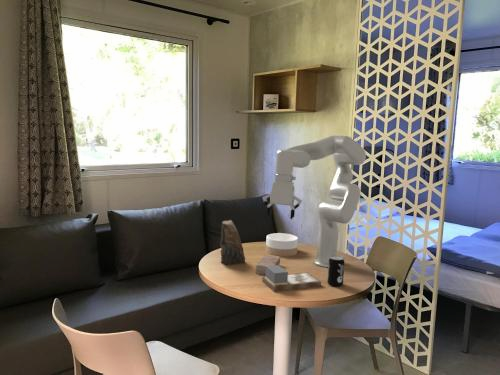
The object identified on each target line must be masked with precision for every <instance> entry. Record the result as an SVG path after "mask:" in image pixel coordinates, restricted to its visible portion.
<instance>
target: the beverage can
mask: <svg viewBox="0 0 500 375" xmlns="http://www.w3.org/2000/svg"><path fill="white" fill-rule="evenodd" d="M341 256H342V255H340V256H330V259H329V265H328V267H327V283H328V285H329V286H330V287H336V288H337V287H342V286H343V285H344V276H345V274H344V273H345V259H344V258H343V257H341Z"/></svg>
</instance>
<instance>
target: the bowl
mask: <svg viewBox="0 0 500 375" xmlns="http://www.w3.org/2000/svg"><path fill="white" fill-rule="evenodd" d="M265 242H266V243H265V244H266V246H265V251H266V253H267V254H269V255H270V256H278V257H292V256H295V255H297V254H298V246H299V238H298V236H296V235H294V234H290V233H284V232H283V233H282V232H277V233H275V232H274V233H270V234H267V235H266V240H265Z"/></svg>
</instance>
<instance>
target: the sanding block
mask: <svg viewBox="0 0 500 375" xmlns="http://www.w3.org/2000/svg"><path fill="white" fill-rule="evenodd" d="M288 274H289V272H288V271H287V270H286V269H284V268H283V267H282V266H280V264H279V265H275V266H266V274H265V275H264V277H265V278H266V279H268V280H269V281H270V282H271V283H272V284H273V285H280V284H287V281H288Z"/></svg>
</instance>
